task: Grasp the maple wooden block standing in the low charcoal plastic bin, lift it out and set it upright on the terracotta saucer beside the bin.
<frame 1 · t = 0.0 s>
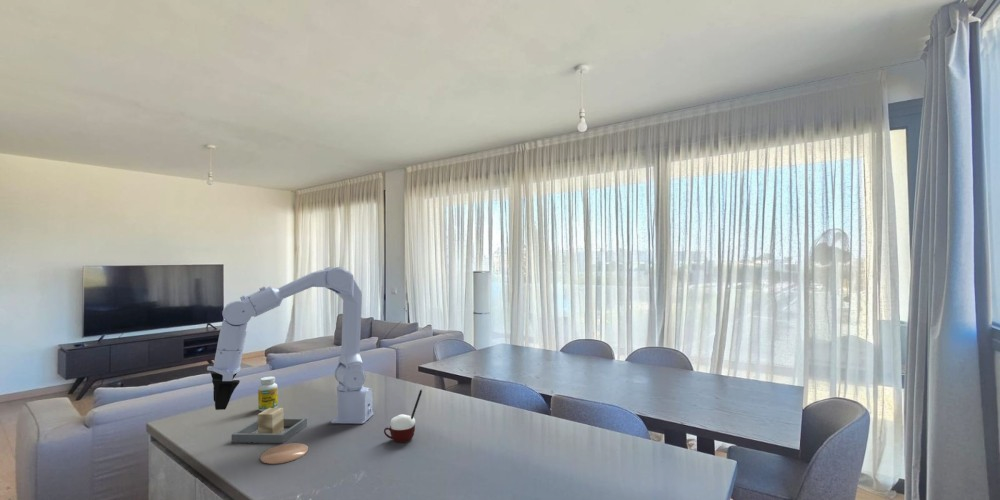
hand: (219, 405, 107), 11 cm above the kitchen island, tool pointing down, fingers open, 7 cm apart
cocoa: (403, 440, 109), on the kitchen island
supplement bottle: (268, 409, 135), on the kitchen island
saucer: (284, 454, 102), on the kitchen island
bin: (271, 433, 115), on the kitchen island
block: (270, 422, 115), in the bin
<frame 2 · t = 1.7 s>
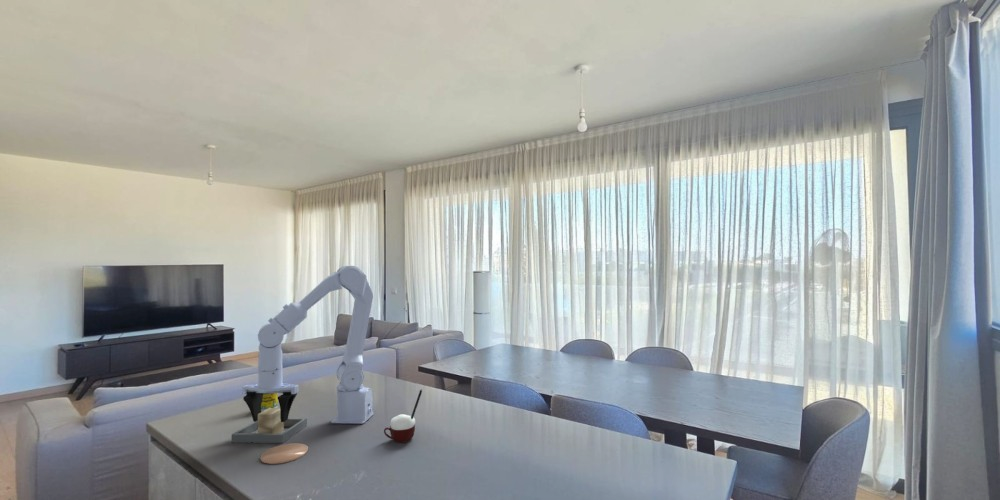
hand: (270, 420, 115), 3 cm above the kitchen island, tool pointing down, fingers open, 7 cm apart
nothing on the kitchen island moved.
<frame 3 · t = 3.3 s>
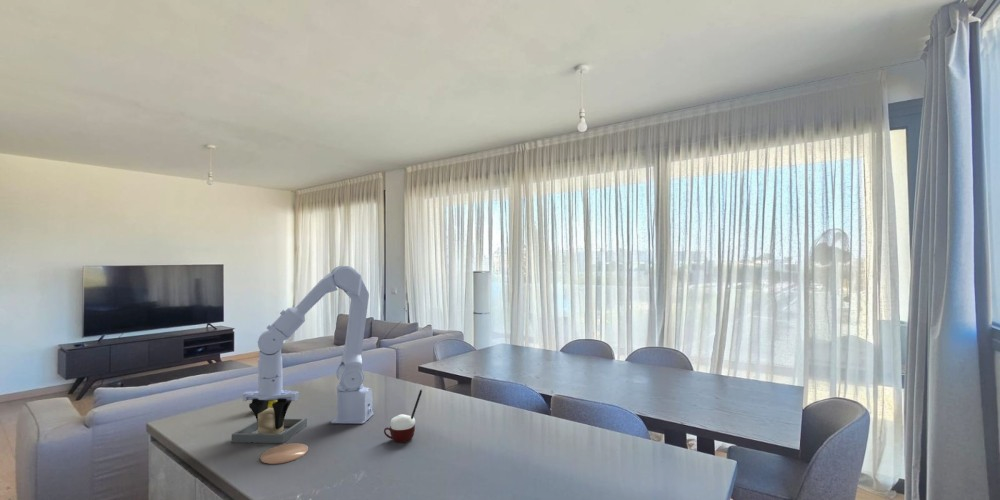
hand: (270, 427, 115), 2 cm above the kitchen island, tool pointing down, fingers closed on block, 4 cm apart
block: (270, 422, 115), in the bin, touching gripper
everything else where it was.
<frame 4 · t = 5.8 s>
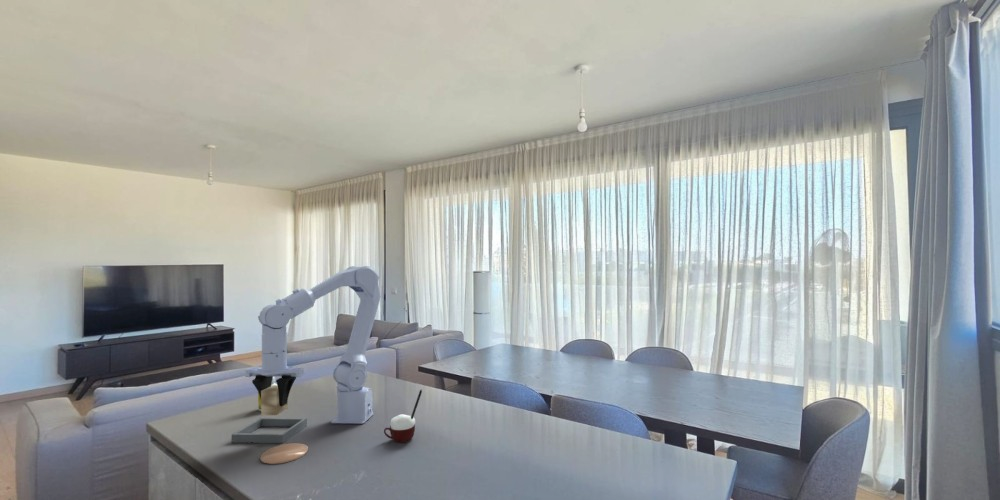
hand: (274, 404, 111), 9 cm above the kitchen island, tool pointing down, fingers closed on block, 4 cm apart
block: (274, 399, 111), point 10 cm above the kitchen island, touching gripper
everything else where it was.
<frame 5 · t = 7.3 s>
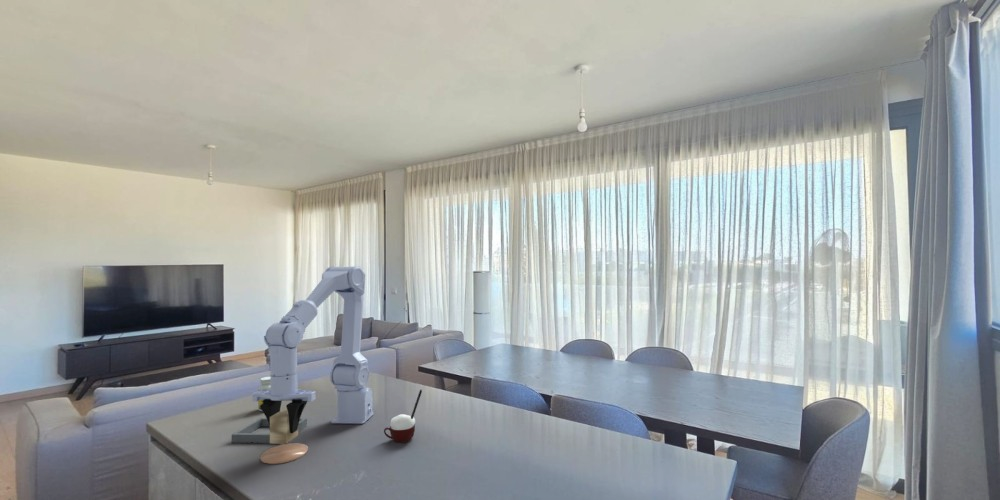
hand: (284, 431, 102), 5 cm above the kitchen island, tool pointing down, fingers closed on block, 4 cm apart
block: (284, 426, 102), point 7 cm above the kitchen island, touching gripper
everything else where it was.
when the fingers open (3 cm above the kitchen island, at t = 8.5 s): block stays where it is, resting on saucer.
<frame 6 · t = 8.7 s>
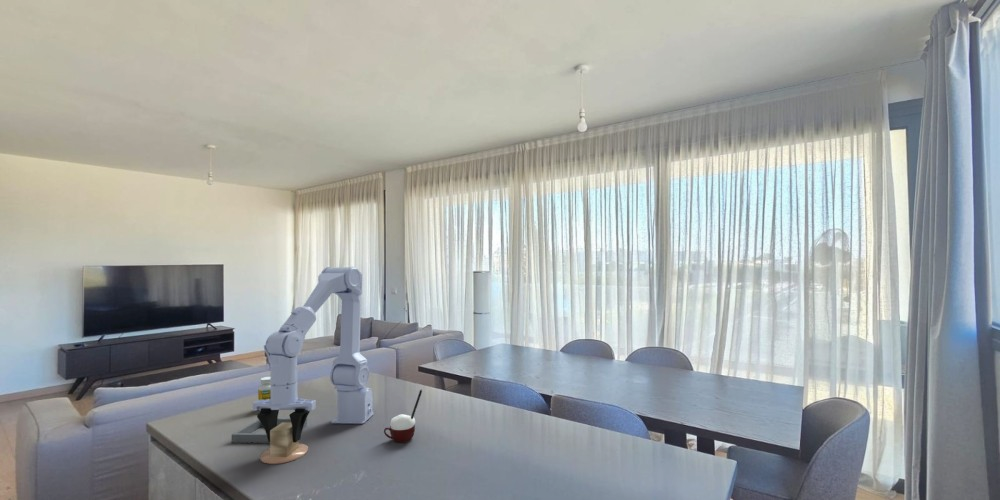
hand: (284, 440, 102), 3 cm above the kitchen island, tool pointing down, fingers open, 5 cm apart
block: (284, 439, 102), on the saucer
everything else where it was.
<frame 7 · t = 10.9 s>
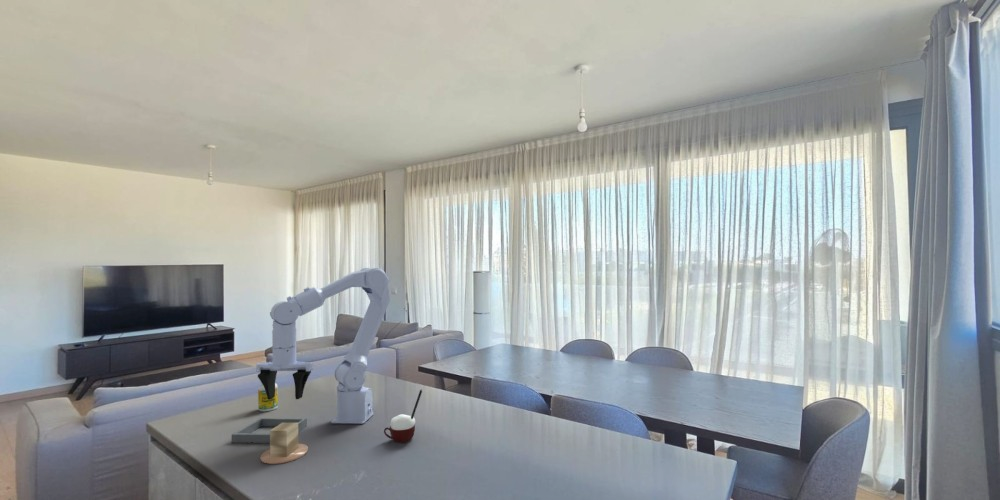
hand: (285, 398, 115), 9 cm above the kitchen island, tool pointing down, fingers open, 7 cm apart
nothing on the kitchen island moved.
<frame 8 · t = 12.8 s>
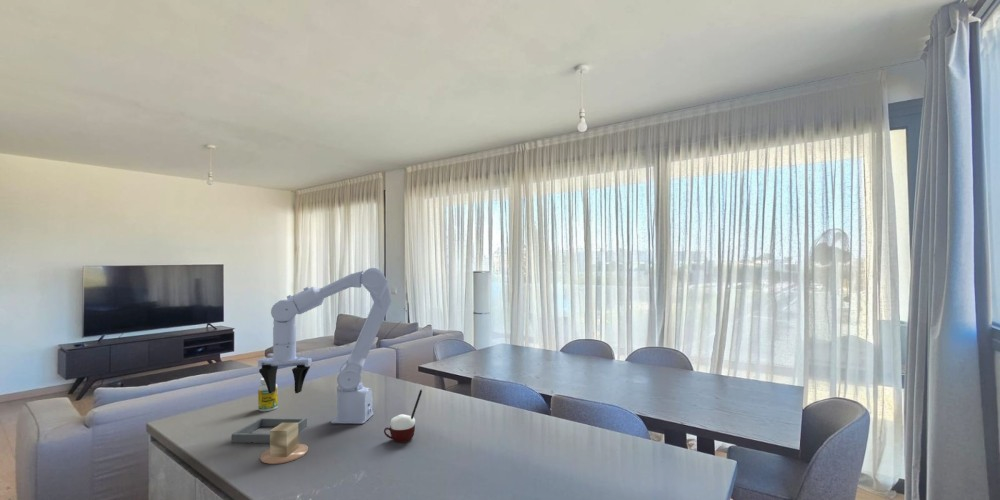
hand: (285, 392, 120), 9 cm above the kitchen island, tool pointing down, fingers open, 7 cm apart
nothing on the kitchen island moved.
at the end: block 0.0 cm off-centre on the saucer, point 3.5 cm above the saucer's base; block tilted 0°; the gripper is holding nothing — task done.
